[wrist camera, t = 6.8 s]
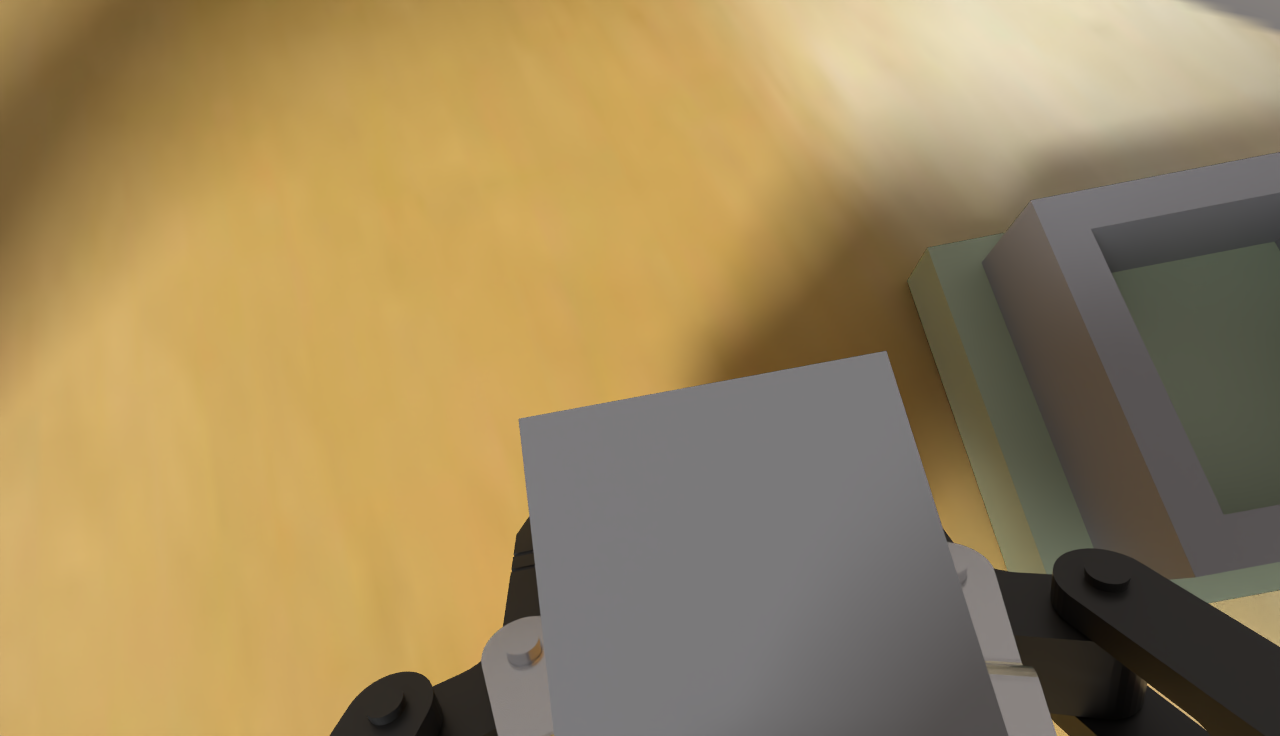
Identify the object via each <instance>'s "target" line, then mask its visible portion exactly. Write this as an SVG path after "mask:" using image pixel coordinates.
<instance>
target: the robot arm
mask: <svg viewBox="0 0 1280 736" xmlns="http://www.w3.org/2000/svg"><path fill="white" fill-rule="evenodd" d="M943 531H944V529H943ZM944 534H945V537H946V540H947V543H948V547H949V550H950V553H951V556H952V559H953V562H954V566H955V569H956V572H957V575H958V578H959V581H960V584H961V588H962V591H963V594H964V597H965V600H966V603H967V606H968V610H969V613H970V616H971V619H972V622H973V625H974V629H975V632H976V635H977V638H978V641H979V644H980V647H981V651H982V654H983V657H984V660H985V663H986V666H987V670H988V673H989V676H990V679H991V682H992V685H993V688H994V692H995V695H996V698H997V701H998V704H999V707H1000V710H1001V714H1002V717H1003V720H1004V723H1005V726H1006V729H1007V733H1008V736H1057V735H1056V732H1055V729H1054V725H1053V722H1052V720H1053V721H1054V722H1055V723H1056V724H1057V725H1058V726H1059V727H1060V728H1061V729H1063V730H1064V731H1065V732H1066V733H1067V734H1068V735H1069V736H1280V647H1279V646H1277V645H1276V644H1274V643H1272V642H1271V641H1269V640H1267V639H1266V638H1264V637H1262V636H1261V635H1259V634H1258V633H1256V632H1254V631H1253V630H1251V629H1249V628H1248V627H1246V626H1244V625H1243V624H1241V623H1239V622H1238V621H1236V620H1234V619H1233V618H1231V617H1230V616H1228V615H1226V614H1225V613H1223V612H1221V611H1220V610H1218V609H1216V608H1215V607H1213V606H1211V605H1210V604H1208V603H1206V602H1205V601H1203V600H1202V599H1200V598H1198V597H1197V596H1195V595H1193V594H1192V593H1190V592H1188V591H1187V590H1185V589H1183V588H1182V587H1180V586H1179V585H1177V584H1175V583H1174V582H1172V581H1170V580H1169V579H1167V578H1165V577H1164V576H1162V575H1160V574H1159V573H1157V572H1155V571H1154V570H1152V569H1151V568H1149V567H1147V566H1146V565H1144V564H1142V563H1141V562H1139V561H1137V560H1135V559H1133V558H1131V557H1129V556H1126V555H1124V554H1121V553H1117V552H1114V551H1109V550H1104V549H1096V548H1085V549H1077V550H1072V551H1069V552H1066V553H1064V554H1063V555H1061V556H1060V557H1059V558H1058V559H1057V560H1056V561H1055V563H1054V566H1053V572H1052V574H1038V573H1020V572H1008V571H1003V570H997V569H994V568H993V566H992V565H991V564H990V562H989V561H988V560H987V559H986V558H985V557H984V556H983V555H981V554H980V553H978V552H977V551H975V550H973V549H971V548H968V547H966V546H963V545H960V544H956V543H953V541H952V540H951V539H950V537H949V536H948V535H947V533H946V532H945V531H944ZM1147 683H1148V684H1150V685H1151V686H1152V687H1154V688H1155V689H1156V690H1158V691H1159V692H1160V693H1162V694H1163V695H1164V696H1166V697H1167V698H1168V699H1169V700H1171V701H1172V702H1173V703H1175V704H1176V705H1177V706H1179V707H1180V708H1181V709H1183V710H1184V711H1185V712H1187V713H1188V714H1189V715H1191V716H1192V717H1193V718H1194V719H1196V720H1197V721H1198V722H1199V723H1200V724H1201V725H1202V726H1203V727H1204V728H1205V729H1206V730H1207V731H1206V730H1205V729H1203V728H1202V727H1201V726H1199V725H1198V724H1197V723H1196V722H1194V721H1193V720H1192V719H1190V718H1189V717H1188V716H1186V715H1185V714H1184V713H1182V712H1181V711H1180V710H1178V709H1177V708H1176V707H1175V706H1173V705H1172V704H1171V703H1169V702H1168V701H1167V700H1165V699H1164V698H1163V697H1161V696H1160V695H1159V694H1157V693H1156V692H1155V691H1154V690H1152V689H1151V688H1150V687H1148V686H1147ZM330 736H554V730H553V721H552V712H551V703H550V694H549V685H548V677H547V668H546V659H545V650H544V641H543V632H542V623H541V614H540V605H539V596H538V587H537V578H536V569H535V560H534V552H533V543H532V534H531V525H530V517H529V518H528V519H527V520H526V522H525V523H524V525H523V526H522V528H521V529H520V531H519V532H518V533H517V535H516V542H515V549H514V557H513V562H512V572H511V576H510V583H509V589H508V596H507V603H506V610H505V616H504V623H503V627H502V628H501V629H500V630H498V631H497V632H496V633H495V634H494V635H493V636H492V637H491V638H490V640H489V641H488V642H487V644H486V646H485V648H484V650H483V653H482V659H481V662H479V663H478V664H477V665H475V666H474V667H472V668H471V669H469V670H467V671H465V672H463V673H461V674H459V675H457V676H455V677H453V678H451V679H448V680H446V681H444V682H442V683H440V684H437V685H435V686H433V687H432V685H431V683H430V681H429V680H428V679H427V678H426V677H425V676H423V675H422V674H419V673H416V672H399V673H395V674H391V675H388V676H386V677H384V678H381V679H379V680H378V681H376V682H374V683H372V684H371V685H370V686H368V687H367V688H366V689H364V690H363V691H362V692H361V693H360V694H359V695H358V696H357V697H356V698H355V699H354V700H353V702H352V703H351V704H350V706H349V707H348V709H347V710H346V712H345V713H344V715H343V716H342V718H341V719H340V721H339V722H338V724H337V725H336V727H335V728H334V730H333V731H332V733H331V734H330Z"/></svg>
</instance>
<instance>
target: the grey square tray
mask: <svg viewBox="0 0 1280 736" xmlns="http://www.w3.org/2000/svg"><path fill="white" fill-rule="evenodd" d="M907 282H908V285H909V288H910V290H911V293H912V296H913V299H914V302H915V305H916V308H917V311H918V314H919V316H920V319H921V322H922V325H923V328H924V331H925V334H926V337H927V340H928V342H929V345H930V348H931V351H932V354H933V357H934V360H935V363H936V365H937V368H938V371H939V374H940V377H941V380H942V383H943V386H944V389H945V391H946V394H947V397H948V400H949V403H950V406H951V409H952V412H953V415H954V417H955V420H956V423H957V426H958V429H959V432H960V435H961V438H962V440H963V443H964V446H965V449H966V452H967V455H968V458H969V461H970V464H971V466H972V469H973V472H974V475H975V478H976V481H977V484H978V487H979V489H980V492H981V495H982V498H983V501H984V504H985V507H986V510H987V513H988V515H989V518H990V521H991V524H992V527H993V530H994V533H995V536H996V539H997V541H998V544H999V547H1000V550H1001V553H1002V556H1003V559H1004V562H1005V564H1006V567H1007V570H1008V572H1020V573H1038V574H1052V572H1053V566H1054V563H1055V561H1056V560H1057V559H1058V558H1059V557H1060V556H1061V555H1063V554H1064V553H1066V552H1069V551H1072V550H1077V549H1085V548H1096V549H1104V550H1109V551H1114V552H1117V553H1121V554H1124V555H1126V556H1129V557H1131V558H1133V559H1135V560H1137V561H1139V562H1141V563H1142V564H1144V565H1146V566H1147V567H1149V568H1151V569H1152V570H1154V571H1155V572H1157V573H1159V574H1160V575H1162V576H1164V577H1165V578H1167V579H1169V580H1170V581H1172V582H1174V583H1175V584H1177V585H1179V586H1180V587H1182V588H1183V589H1185V590H1187V591H1188V592H1190V593H1192V594H1193V595H1195V596H1197V597H1198V598H1200V599H1202V600H1203V601H1205V602H1206V603H1212V602H1218V601H1223V600H1229V599H1234V598H1240V597H1245V596H1251V595H1256V594H1261V593H1267V592H1272V591H1278V590H1280V152H1278V153H1273V154H1267V155H1262V156H1257V157H1252V158H1247V159H1242V160H1236V161H1231V162H1226V163H1221V164H1216V165H1211V166H1205V167H1200V168H1195V169H1190V170H1185V171H1180V172H1174V173H1169V174H1164V175H1159V176H1154V177H1149V178H1143V179H1138V180H1133V181H1128V182H1123V183H1118V184H1112V185H1107V186H1102V187H1097V188H1092V189H1086V190H1081V191H1076V192H1071V193H1066V194H1061V195H1055V196H1050V197H1045V198H1040V199H1035V200H1031V201H1030V202H1029V203H1028V205H1027V206H1026V207H1025V208H1024V210H1023V211H1022V212H1021V213H1020V215H1019V216H1018V217H1017V218H1016V220H1015V221H1014V222H1013V224H1012V225H1011V226H1010V227H1009V229H1008V230H1007V231H1006V232H1005V233H1001V234H995V235H990V236H985V237H980V238H975V239H969V240H964V241H959V242H954V243H949V244H944V245H938V246H933V247H928V248H927V249H926V251H925V252H924V254H923V256H922V257H921V259H920V261H919V262H918V264H917V265H916V267H915V269H914V270H913V272H912V274H911V275H910V277H909V278H908V280H907Z"/></svg>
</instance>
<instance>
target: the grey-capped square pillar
mask: <svg viewBox="0 0 1280 736" xmlns="http://www.w3.org/2000/svg"><path fill="white" fill-rule="evenodd" d="M519 427H520V435H521V444H522V453H523V462H524V471H525V480H526V489H527V498H528V507H529V516H530V525H531V534H532V543H533V552H534V560H535V569H536V578H537V587H538V596H539V605H540V614H541V623H542V632H543V641H544V650H545V659H546V668H547V677H548V685H549V694H550V703H551V712H552V721H553V730H554V736H1008V733H1007V729H1006V726H1005V723H1004V720H1003V717H1002V714H1001V710H1000V707H999V704H998V701H997V698H996V695H995V692H994V688H993V685H992V682H991V679H990V676H989V673H988V670H987V666H986V663H985V660H984V657H983V654H982V651H981V647H980V644H979V641H978V638H977V635H976V632H975V629H974V625H973V622H972V619H971V616H970V613H969V610H968V606H967V603H966V600H965V597H964V594H963V591H962V588H961V584H960V581H959V578H958V575H957V572H956V569H955V566H954V562H953V559H952V556H951V553H950V550H949V547H948V543H947V540H946V537H945V534H944V531H943V528H942V525H941V521H940V518H939V515H938V512H937V509H936V506H935V503H934V499H933V496H932V493H931V490H930V487H929V484H928V480H927V477H926V474H925V471H924V468H923V465H922V462H921V458H920V455H919V452H918V449H917V446H916V443H915V440H914V436H913V433H912V430H911V427H910V424H909V421H908V417H907V414H906V411H905V408H904V405H903V402H902V399H901V395H900V392H899V389H898V386H897V383H896V380H895V377H894V373H893V370H892V367H891V364H890V361H889V358H888V354H887V351H883V352H877V353H872V354H867V355H861V356H856V357H850V358H845V359H839V360H834V361H829V362H823V363H818V364H812V365H807V366H802V367H796V368H791V369H785V370H780V371H775V372H769V373H764V374H758V375H753V376H748V377H742V378H737V379H731V380H726V381H721V382H715V383H710V384H704V385H699V386H694V387H688V388H683V389H677V390H672V391H667V392H661V393H656V394H650V395H645V396H640V397H634V398H629V399H623V400H618V401H613V402H607V403H602V404H596V405H591V406H586V407H580V408H575V409H569V410H564V411H559V412H553V413H548V414H542V415H537V416H532V417H526V418H521V419H519Z"/></svg>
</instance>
